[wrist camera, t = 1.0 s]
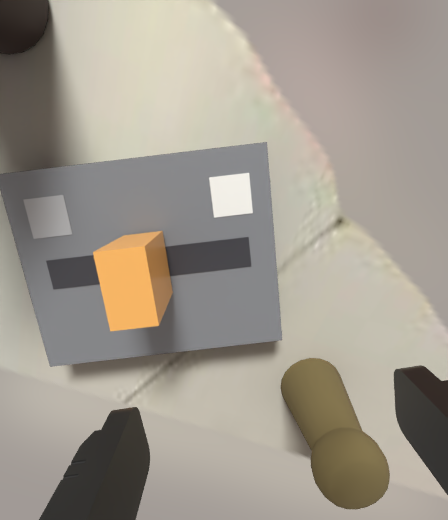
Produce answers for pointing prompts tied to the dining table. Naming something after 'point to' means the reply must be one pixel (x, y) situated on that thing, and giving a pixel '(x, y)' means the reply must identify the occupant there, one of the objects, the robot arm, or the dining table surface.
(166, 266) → the knob
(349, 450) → the olive pawn
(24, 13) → the bottle
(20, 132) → the dining table surface
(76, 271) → the panel
